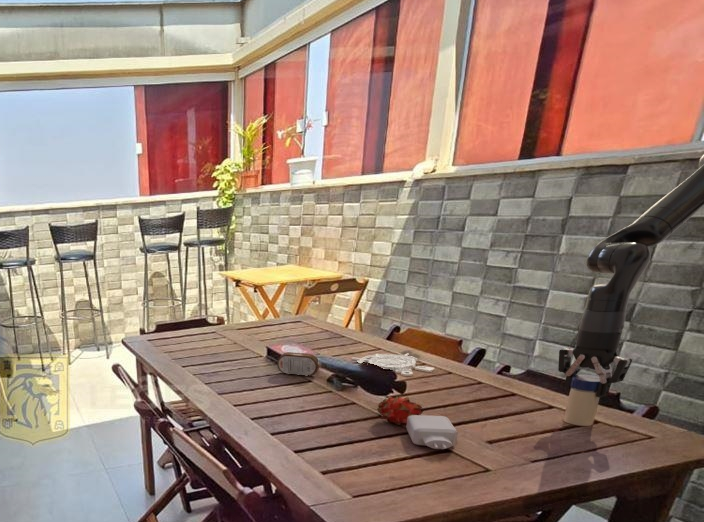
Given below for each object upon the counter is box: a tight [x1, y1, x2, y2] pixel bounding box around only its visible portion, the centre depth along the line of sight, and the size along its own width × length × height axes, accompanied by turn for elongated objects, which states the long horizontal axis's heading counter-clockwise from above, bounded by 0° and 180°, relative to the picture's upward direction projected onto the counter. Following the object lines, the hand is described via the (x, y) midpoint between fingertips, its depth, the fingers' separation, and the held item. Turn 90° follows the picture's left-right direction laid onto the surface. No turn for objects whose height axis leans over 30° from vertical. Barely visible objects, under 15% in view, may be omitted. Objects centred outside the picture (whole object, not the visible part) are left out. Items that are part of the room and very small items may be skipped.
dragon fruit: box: [376, 395, 425, 426], centre depth 136 cm, size 8×8×12 cm
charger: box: [405, 414, 459, 450], centre depth 123 cm, size 5×9×15 cm
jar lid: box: [570, 374, 601, 391], centre depth 123 cm, size 6×6×2 cm
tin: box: [276, 351, 321, 377], centre depth 183 cm, size 15×3×8 cm, turn 52°
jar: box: [563, 387, 600, 427], centre depth 125 cm, size 6×6×11 cm
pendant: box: [351, 352, 436, 377], centre depth 183 cm, size 21×28×1 cm
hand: (584, 392), depth 124 cm, fingers closed on jar lid, 6 cm apart
